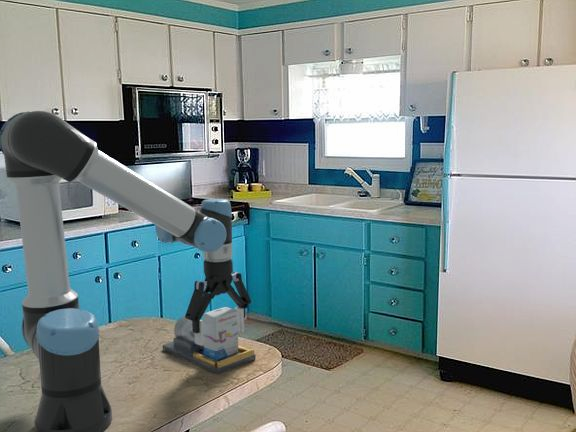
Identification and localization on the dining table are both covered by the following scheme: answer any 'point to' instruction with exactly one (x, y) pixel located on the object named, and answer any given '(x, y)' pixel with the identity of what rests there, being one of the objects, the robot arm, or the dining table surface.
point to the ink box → (220, 333)
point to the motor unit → (195, 353)
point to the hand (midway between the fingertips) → (220, 337)
